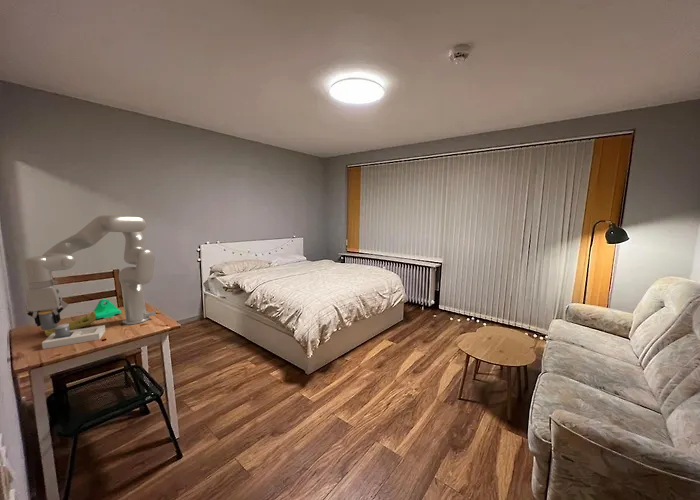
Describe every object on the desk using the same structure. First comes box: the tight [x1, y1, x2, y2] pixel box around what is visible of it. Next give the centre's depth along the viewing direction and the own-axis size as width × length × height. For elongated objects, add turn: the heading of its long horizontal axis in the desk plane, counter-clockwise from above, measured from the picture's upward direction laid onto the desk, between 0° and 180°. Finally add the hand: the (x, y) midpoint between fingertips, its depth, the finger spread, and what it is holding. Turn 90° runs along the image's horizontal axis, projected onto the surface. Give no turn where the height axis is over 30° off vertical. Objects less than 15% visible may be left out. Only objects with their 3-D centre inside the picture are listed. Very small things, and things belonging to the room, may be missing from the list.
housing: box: [41, 324, 106, 350], centre depth 140 cm, size 20×12×4 cm, turn 120°
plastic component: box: [44, 311, 97, 338], centre depth 152 cm, size 20×7×10 cm
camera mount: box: [92, 298, 122, 320], centre depth 171 cm, size 12×8×10 cm, turn 145°
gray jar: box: [38, 309, 58, 331], centre depth 127 cm, size 5×5×8 cm
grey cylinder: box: [54, 323, 71, 339], centre depth 137 cm, size 5×5×8 cm
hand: (48, 323), depth 127 cm, fingers closed on gray jar, 4 cm apart
